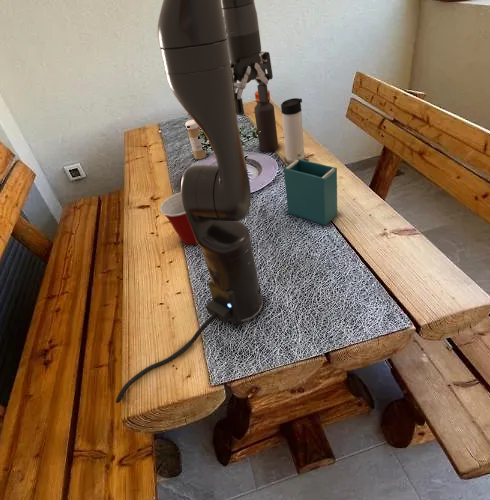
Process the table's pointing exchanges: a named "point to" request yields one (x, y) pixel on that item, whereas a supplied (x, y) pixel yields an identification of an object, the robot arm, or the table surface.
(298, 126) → the travel mug
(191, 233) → the plastic cup
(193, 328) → the table surface
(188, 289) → the table surface
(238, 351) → the table surface
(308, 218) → the matte teal cuboid
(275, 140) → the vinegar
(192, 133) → the sprinkles bottle
